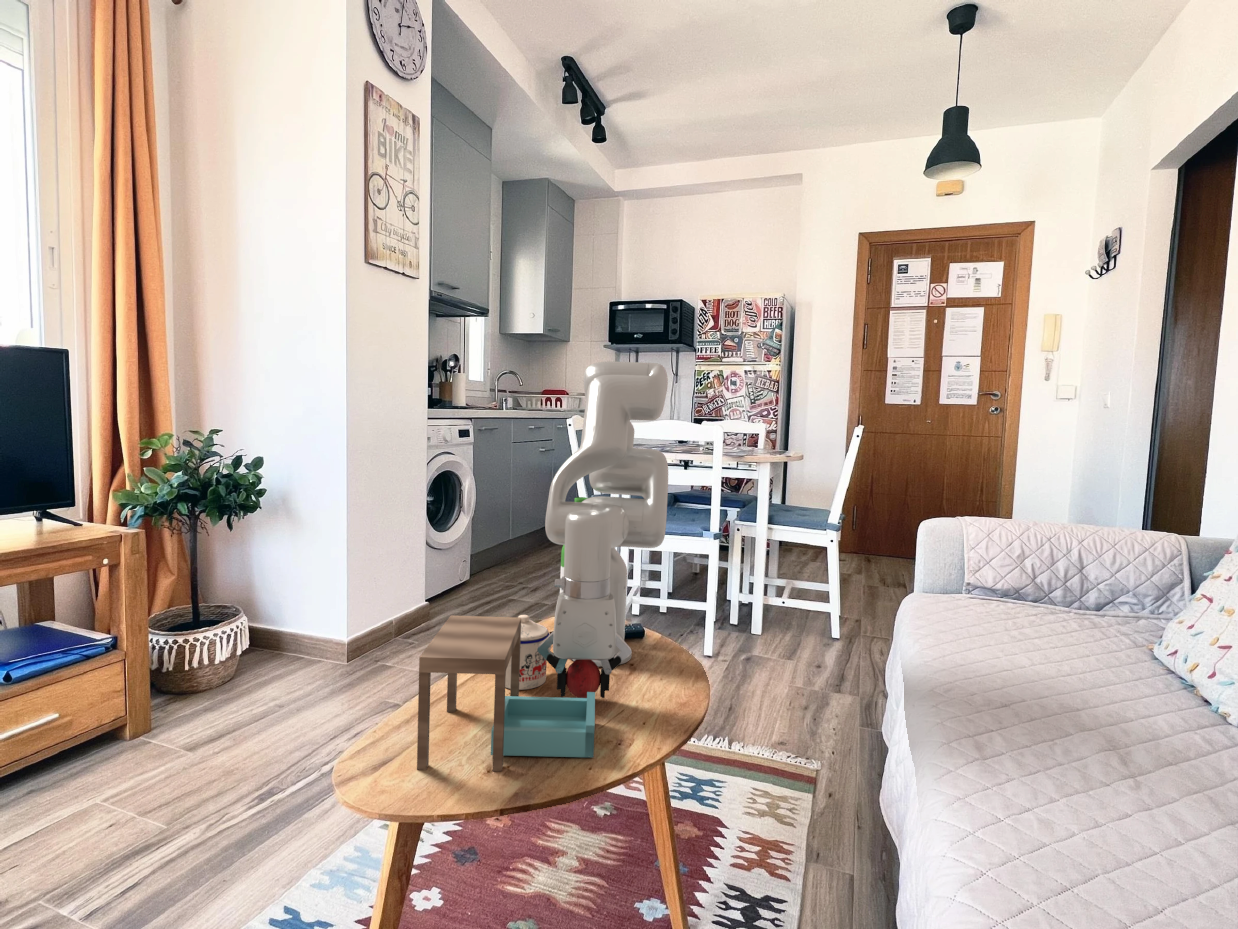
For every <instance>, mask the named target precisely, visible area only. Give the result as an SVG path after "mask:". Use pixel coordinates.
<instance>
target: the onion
mask: <svg viewBox="0 0 1238 929" xmlns="http://www.w3.org/2000/svg"><path fill="white" fill-rule="evenodd" d="M600 684H601V669H600V668H599V667H598V666H597V665H596V664H595V663H594V662H593V661H592V660H575V661H573V662H571V664H570V665H569V666H568V668H567V669H566V688H567V690H568V691H569V692H570V694H572V696H574V698H587V692H595V693H596V692H597V691H598V690H599V688H600Z"/></svg>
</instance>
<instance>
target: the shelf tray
mask: <svg viewBox="0 0 1238 929" xmlns="http://www.w3.org/2000/svg"><path fill="white" fill-rule="evenodd" d="M595 724H596V692H587V698H577V697H561V696H560V697H558V696H557V697H555V696H554V697H553V696H552V697H549V696H520V695H519V696H510V695H507V696H506V695H505V716H504V748H503V756H513V757H514V756H517V757H520V756H521V757H555V758H556V757H557V758H558V757H561V758H564V757H565V758H594V753H595V752H594V750H595V727H596V726H595ZM490 732H491V733H490V735H491V736H490V756H493V734H494V723H493V724H492V727H491V731H490Z"/></svg>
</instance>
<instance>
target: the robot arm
mask: <svg viewBox="0 0 1238 929" xmlns="http://www.w3.org/2000/svg"><path fill="white" fill-rule="evenodd" d="M668 380H669V379H668V374H667V371H666V368H665V367H664V366H663V364H661V363H657V362H642V361H641V362H639V361H638V362H637V361H633V362H632V361H610V360H609V361H608V360H607V361H599V362H594V363H591V364H590V365H588V366H587V367H586V369H585V370H584V373H583V380H582V381H583V390H584V392H583V393H584V396H585V405H584V413H583V415H584V416H583V424H582V430H581V431H582V432H581V438H580V439H581V440H580V446H579V448H578V449H577V450H576V451H574V453H573V454H572V455H570V456H569V457H568V458H567V459H566V460H565V461H564V462H563V463H562V464H561V466H560V467H559V469H558V470H557V471H556V473H555V475H554V477H553V479H552V481H551V483H550V487H549V493H548V499H547V505H546V512H545V521H544V522H545V524H544V526H545V535H546V537H547V539H548V540H549V541H550V542H552V543H553V544H556V545H562V546H563V545H565V554H564V577H562V578H554V588H558V589H560V588H561V590H563V592H561V593H560V592H559V594H558V596H557V601H556V606H555V612H554V623H553V631H552V632H551V633H549V634H550V635H549V636H548V637H547V638H546V639H545V640H544V641H543V642H542V643H541V644H540V645H539V646H538V649H537V651H538V652H539V653H540V654H541V655H542V656H543V657H544V658H545V659H546V660H547V663H548V664H549V665H550V666H551V667H552V668H553V669H554V671H555V673H556V676H557V677H556V690H558V691H559V690H560V698H565V697H566V690H567V689H566V688H567V686H566V673H567V670H568V668H567V667H566V665H567V661H568V660H571V661H573V662H574V661H575V660H592V661H593V662H594V663H595V664H596V665H597V666H598V668H599V667H601V669H600V673H601V683H600V686H599V688H600V690H599V692H600V695H599V697H600V698H601V699H604V698H605V697H606V696H605V695H606V692H610V681H611V680H610V677H611V676H610V675H611V674H612V672H613V671H614V670H615V669H616V668H617V667H618V666H619V665H623V664H625V663H627V662H628V661H631V659H632V656H633V652H632V648H631V647H630V646H629V644H628V643H627V642H626V641H625V636H626V632H625V631H626V630H625V629H626V609H627V608H626V606H627V590H628V588H627V586H628V585H627V584H628V567H627V565H626V562H625V561H624V559H623V557H622V555H621V554H620V553H619V551H618V550H617V549H616V548H621V547H624V548H641V549H655V548H658V547H660V546H661V545H662V544H663V542H664V539H665V535H666V529H667V514H668V512H667V511H668V497H669V496H668V492H669V467H668V464H669V463H668V460H667V457H666V456H665V454H664V453H663V452H662V451H660V450H658V449H654V448H642V447H641V448H639V447H634V442H635V441H634V439H635V426H634V425H633V423H632V422H631V421H636V420H637V421H657V420H658V419H659V418H660V417H661V416H662V413H663V411H664V407H665V404H666V403H665V401H666V397H667V392H668V387H669V386H668V384H669V382H668ZM585 476H589V477H588V478H589V484H590V487H591V488H592V489H593V490H594V491H596V492H598V493H602V494H607V495H609V494H610V495H623V496H624V495H626V496H639V497H642V498H637V497H636V498H635V497H622V496H621V497H619V496H604V495H603V496H601V495H600V496H592V497H587V498H588V499H586V500H584V501H582V502H574V501H566V499H567V495H568V492H569V490H570V489H571V488H572V487H573V485H574V484H575V483H577V482H578V481H579V480H581V479H582V478H584V477H585ZM551 645H552V646H551ZM550 646H551V647H552V651H551V649H550V650H549V647H550ZM605 699H606V698H605Z"/></svg>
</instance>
